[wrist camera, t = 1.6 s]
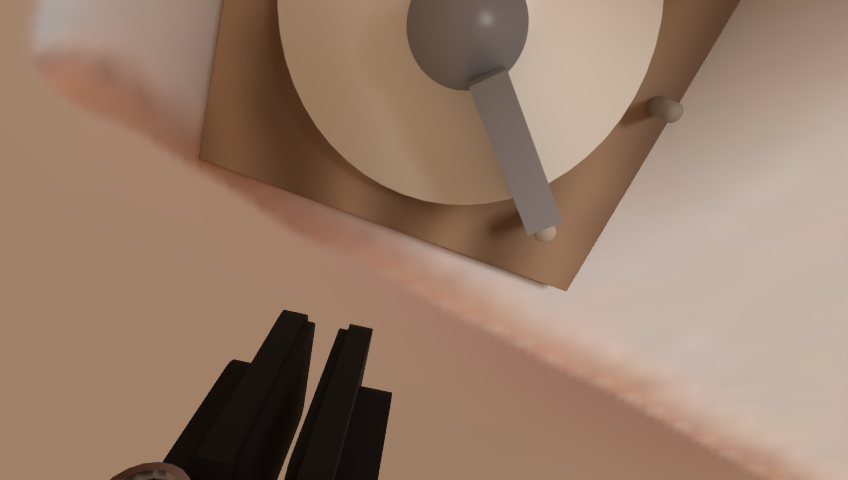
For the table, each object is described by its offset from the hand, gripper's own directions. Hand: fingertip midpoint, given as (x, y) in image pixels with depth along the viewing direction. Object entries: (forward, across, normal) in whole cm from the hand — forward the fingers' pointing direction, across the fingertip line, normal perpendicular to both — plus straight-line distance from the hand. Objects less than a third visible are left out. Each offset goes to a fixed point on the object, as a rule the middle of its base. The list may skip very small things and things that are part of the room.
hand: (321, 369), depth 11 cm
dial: (+17, -2, -8) cm, 19 cm away
